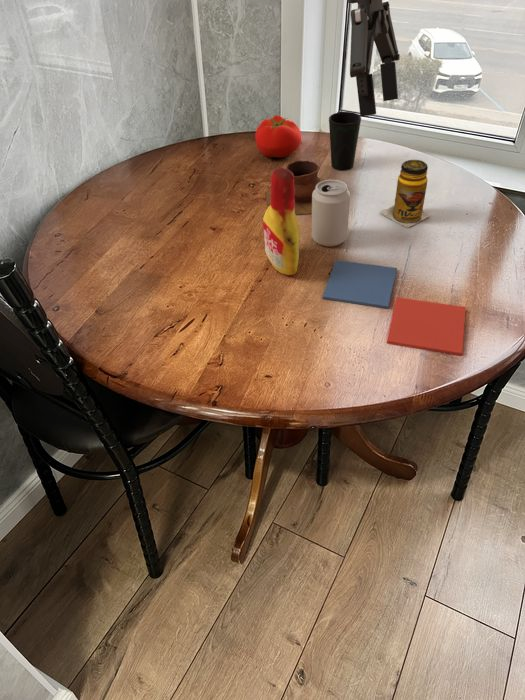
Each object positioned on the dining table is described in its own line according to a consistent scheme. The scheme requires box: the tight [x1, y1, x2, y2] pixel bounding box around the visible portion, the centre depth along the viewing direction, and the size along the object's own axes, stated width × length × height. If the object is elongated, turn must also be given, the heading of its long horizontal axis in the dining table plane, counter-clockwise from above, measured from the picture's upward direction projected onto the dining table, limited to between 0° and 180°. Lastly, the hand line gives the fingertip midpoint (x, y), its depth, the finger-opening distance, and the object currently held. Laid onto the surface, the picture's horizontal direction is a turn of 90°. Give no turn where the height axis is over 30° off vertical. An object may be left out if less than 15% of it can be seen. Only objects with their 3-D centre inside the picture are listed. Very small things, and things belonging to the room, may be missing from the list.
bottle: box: [262, 167, 301, 276], centre depth 101 cm, size 12×6×20 cm, turn 12°
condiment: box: [378, 159, 431, 228], centre depth 115 cm, size 7×8×12 cm
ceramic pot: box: [264, 160, 325, 215], centre depth 125 cm, size 18×18×7 cm
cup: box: [328, 111, 362, 172], centre depth 133 cm, size 8×8×12 cm
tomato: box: [254, 115, 303, 159], centre depth 142 cm, size 13×12×8 cm
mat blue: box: [321, 259, 398, 310], centre depth 102 cm, size 12×12×1 cm
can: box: [311, 179, 351, 248], centre depth 109 cm, size 8×8×12 cm
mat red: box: [386, 296, 467, 356], centre depth 92 cm, size 12×12×1 cm
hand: (380, 107), depth 101 cm, fingers open, 13 cm apart
